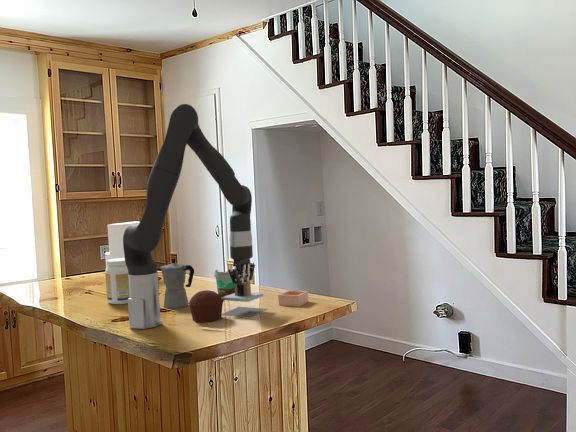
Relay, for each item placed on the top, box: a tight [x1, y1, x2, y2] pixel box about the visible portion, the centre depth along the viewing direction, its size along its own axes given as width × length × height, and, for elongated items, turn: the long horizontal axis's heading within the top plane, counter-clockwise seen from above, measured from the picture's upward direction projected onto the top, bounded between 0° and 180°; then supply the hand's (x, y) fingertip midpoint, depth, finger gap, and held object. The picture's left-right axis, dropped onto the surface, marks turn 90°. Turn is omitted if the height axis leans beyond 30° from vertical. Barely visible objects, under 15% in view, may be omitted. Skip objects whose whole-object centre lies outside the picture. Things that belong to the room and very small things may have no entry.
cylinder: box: [104, 220, 140, 269], centre depth 270 cm, size 17×17×28 cm
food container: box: [213, 269, 241, 297], centre depth 220 cm, size 12×6×10 cm, turn 62°
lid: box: [222, 281, 264, 303], centre depth 187 cm, size 10×10×5 cm
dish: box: [277, 290, 309, 308], centre depth 198 cm, size 8×8×4 cm
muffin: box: [188, 289, 225, 324], centre depth 181 cm, size 12×11×10 cm
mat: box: [221, 306, 268, 318], centre depth 188 cm, size 12×12×1 cm
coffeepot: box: [158, 257, 195, 310], centre depth 205 cm, size 15×9×18 cm, turn 66°
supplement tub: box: [104, 258, 130, 305], centre depth 219 cm, size 12×12×17 cm
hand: (243, 294), depth 187 cm, fingers closed on lid
